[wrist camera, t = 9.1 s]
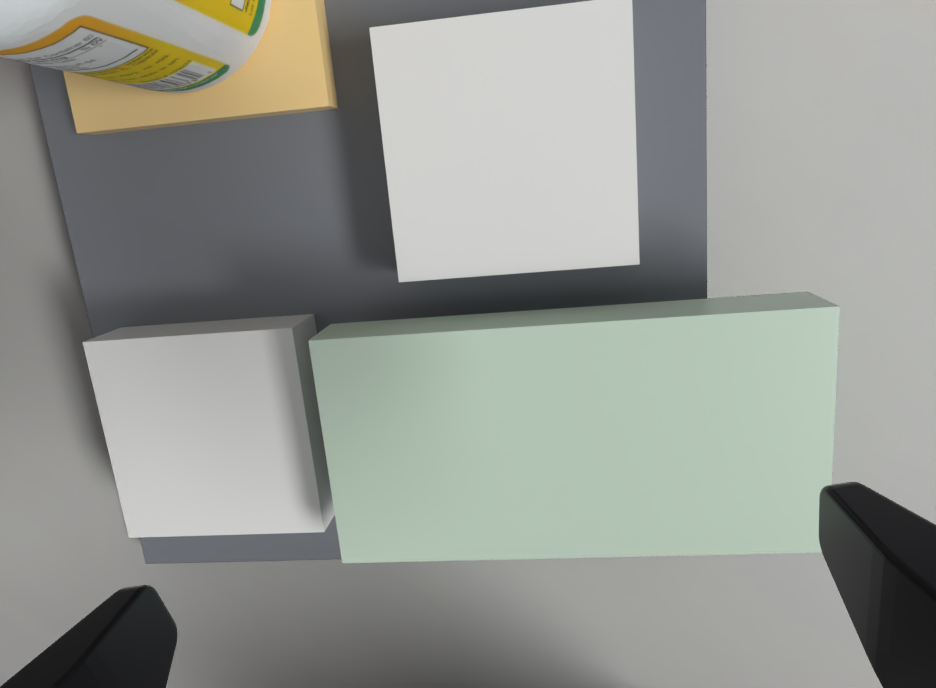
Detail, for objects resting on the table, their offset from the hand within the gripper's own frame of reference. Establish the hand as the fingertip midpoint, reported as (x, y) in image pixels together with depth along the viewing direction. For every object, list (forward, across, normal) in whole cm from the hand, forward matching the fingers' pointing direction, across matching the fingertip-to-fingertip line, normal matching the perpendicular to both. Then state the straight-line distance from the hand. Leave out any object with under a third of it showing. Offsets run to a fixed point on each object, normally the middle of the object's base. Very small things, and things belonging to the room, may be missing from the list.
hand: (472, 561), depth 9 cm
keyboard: (+13, +3, -2) cm, 13 cm away
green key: (+10, -2, +4) cm, 10 cm away
